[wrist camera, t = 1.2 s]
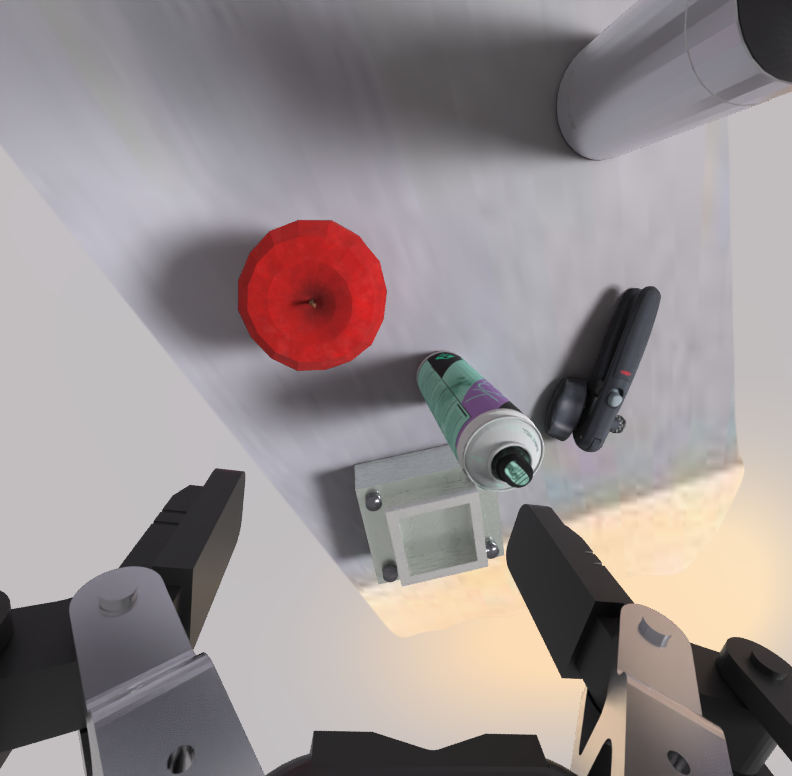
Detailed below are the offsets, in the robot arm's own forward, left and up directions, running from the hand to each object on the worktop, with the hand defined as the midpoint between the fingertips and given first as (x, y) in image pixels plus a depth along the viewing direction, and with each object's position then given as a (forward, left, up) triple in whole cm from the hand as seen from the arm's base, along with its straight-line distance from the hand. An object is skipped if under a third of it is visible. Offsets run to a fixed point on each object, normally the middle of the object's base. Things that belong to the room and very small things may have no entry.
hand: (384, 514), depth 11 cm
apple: (+2, -5, -30) cm, 30 cm away
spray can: (-8, +6, -30) cm, 31 cm away
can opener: (-24, +9, -30) cm, 40 cm away
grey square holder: (-4, +20, -29) cm, 36 cm away
